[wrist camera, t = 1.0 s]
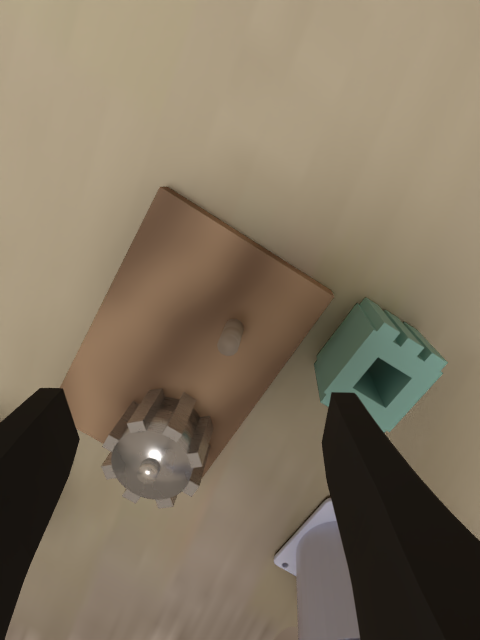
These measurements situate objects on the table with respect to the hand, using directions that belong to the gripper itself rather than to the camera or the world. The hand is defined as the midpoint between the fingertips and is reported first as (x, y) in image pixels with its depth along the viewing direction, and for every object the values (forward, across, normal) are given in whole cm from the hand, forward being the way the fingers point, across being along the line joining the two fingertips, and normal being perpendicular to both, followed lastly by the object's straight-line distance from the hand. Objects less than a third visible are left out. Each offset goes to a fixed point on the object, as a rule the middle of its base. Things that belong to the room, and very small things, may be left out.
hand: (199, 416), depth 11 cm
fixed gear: (+11, +4, +14) cm, 18 cm away
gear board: (+14, +3, +9) cm, 17 cm away
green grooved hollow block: (+13, -9, +8) cm, 18 cm away
